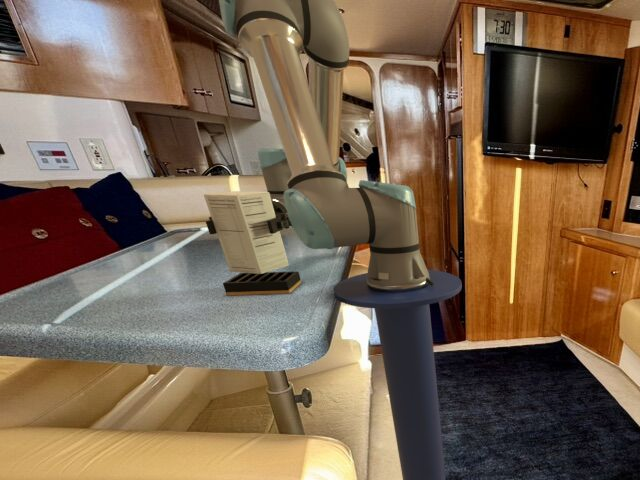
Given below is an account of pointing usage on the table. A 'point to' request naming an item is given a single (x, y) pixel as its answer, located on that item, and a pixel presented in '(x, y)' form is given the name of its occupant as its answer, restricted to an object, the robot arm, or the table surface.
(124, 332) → the table surface
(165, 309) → the table surface
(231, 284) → the dish rack
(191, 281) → the table surface
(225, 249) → the supplement box
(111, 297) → the table surface
